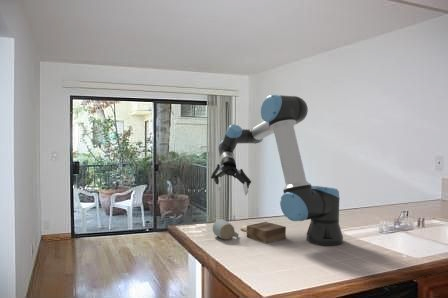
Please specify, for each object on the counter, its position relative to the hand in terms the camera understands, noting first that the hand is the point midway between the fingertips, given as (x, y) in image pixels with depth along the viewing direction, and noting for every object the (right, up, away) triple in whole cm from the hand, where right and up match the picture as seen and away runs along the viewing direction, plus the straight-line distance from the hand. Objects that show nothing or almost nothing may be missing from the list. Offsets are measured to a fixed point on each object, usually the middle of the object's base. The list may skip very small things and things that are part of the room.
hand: (233, 190), depth 170 cm
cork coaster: (+8, -19, +4) cm, 21 cm away
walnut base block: (+14, -19, -11) cm, 26 cm away
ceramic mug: (-3, -20, -11) cm, 23 cm away
